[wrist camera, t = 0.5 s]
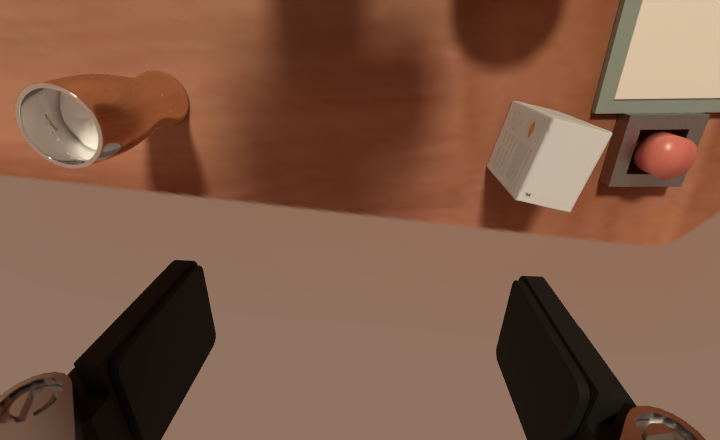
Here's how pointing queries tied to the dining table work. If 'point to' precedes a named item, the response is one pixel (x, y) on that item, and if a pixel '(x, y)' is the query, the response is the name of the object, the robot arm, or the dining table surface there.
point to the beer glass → (97, 114)
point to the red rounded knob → (665, 155)
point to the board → (662, 58)
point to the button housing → (625, 141)
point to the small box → (546, 155)
